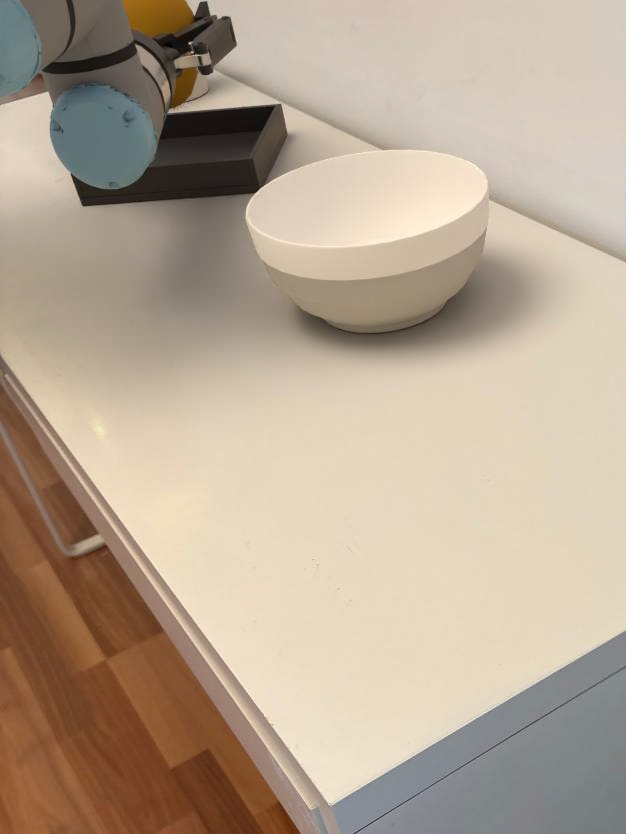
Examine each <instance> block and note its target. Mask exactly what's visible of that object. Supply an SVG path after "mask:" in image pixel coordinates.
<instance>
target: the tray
mask: <svg viewBox="0 0 626 834" xmlns="http://www.w3.org/2000/svg"><path fill="white" fill-rule="evenodd" d="M287 129H288V128H287V123H286V119H285V114H284V109H283V105H282V103H272V104H261V105H248V106H236V107H235V106H234V107H226V108H225V107H223V108H213V109H212V108H211V109H201V110H190V111H188V110H187V111H178V112H177V111H176V112H168V113H167V116H166V119H165V122H164V125H163V128H162V131H161V135H160V138H159V141H158V145H157V146H158V147H157V150H156V154H155V155H154V156H155V158H154V159H153V161H152V163H151V164H150V165H149V166H148V167H147V168H146V170H145V171H144V173H143V174H142V176H141V177H140V178H139V179H138V180H136V181H135V182H134V183H132V184H130V185H128V186H126V187H122V188H119V189H102V188H98V187H94V186H91V185H89V184H87V183H84V182H83V181H81V180H79V179H78V178H77V177H75V176H74V175H73V174H72V173H70V172H69V173H70V174H69V175H70V177H71V179H72V182H73V185H74V188H75V192H76V193H77V196H78V199H79V202H80V204H81V206H82V207H85V206H97V205H98V206H99V205H111V204H123V203H136V202H137V203H138V202H148V201H149V202H151V201H163V200H175V199H177V200H178V199H189V198H197V197H198V198H201V197H214V196H228V195H240V194H252V193H253V194H255V193H257V192H258V191H259V190H260V189H261V188H262V187H264V186H265V185H266V181H267V179H268V178H269V175H270V173H271V171H272V168H273V167H274V164H275V162H276V160H277V158H278V156H279V154H280V151H281V149H282V147H283V145H284V143H285V141H286V138H287V137H288V130H287Z"/></svg>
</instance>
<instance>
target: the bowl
mask: <svg viewBox="0 0 626 834" xmlns="http://www.w3.org/2000/svg"><path fill="white" fill-rule="evenodd" d="M489 217H490V183H489V180H488V178H487V176H486V173H485V172H484V171H483V170H482V169H481V168H480V167H478V166H477V165H476V164H474V163H473V162H470V161H469V160H467V159H465V158H461V157H459V156H455V155H452V154H449V153H445V152H444V153H443V152H438V151H433V150H420V149H384V150H382V149H381V150H371V151H363V152H356V153H349V154H343V155H341V156H340V155H339V156H335V157H330V158H326V159H322V160H319V161H315V162H312V163H309V164H305V165H302V166H301V167H298V168H295V169H293V170H290V171H288V172H286V173H283V174H281V175H279V176H278V177H275V178H274V179H272V180H271V181H269V182H268V183H265V184H264V186H263V187H262V188H261V189H260V190H259V191H258V192H255V193H254V195H252V197H251V198H250V199H249V201H248V203H247V205H246V207H245V222H246V224H247V227H248V231H249V234H250V236H251V239H252V243H253V246H254V249H255V251H256V253H257V255H258V257H259V258H260V260H261V262H262V263H263V266H264V267H265V269H266V271H267V273H268V275H269V277H270V279H271V280H272V283H273V284H274V285H275V286H276V287H277V288H278V289H279V290H281V291H282V292H283V294H285V295H286V296H287V297H288V298H289V299H290V300H291V301H292V302H293V303H294V304H296V305H297V306H298V307H299V308H300V309H301V310H302V311H305V312H307V313H308V314H310V315H313V316H315V317H317V318H321V319H322V320H324V322H325V323H327V324H328V325H330V326H332V327H334V328H336V329H339V330H342V331H344V332H345V331H346V332H352V333H360V334H361V333H362V334H378V333H379V334H380V333H388V332H393V331H399V330H403V329H408V328H410V327H413V326H416V325H419V324H421V323H423V322H425V321H427V320H429V319H431V318H433V317H434V316H435V315H437V314H438V313H439V312H440V311H441V310H442V309H443V308H444V307H445V306H446V303H447V302H448V300H449V299H451V298H452V297H453V296H455V295H456V294H458V293H459V292H460V291H461V289H462V288H463V287H464V286H465V285H466V284H467V282H468V280H469V278H470V276H471V274H472V273H473V271H474V269H475V268H476V266H477V264H478V262H479V260H480V259H481V257H482V255H483V254H484V253H483V252H484V248H485V242H486V235H487V230H488V225H489Z"/></svg>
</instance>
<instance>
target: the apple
mask: <svg viewBox="0 0 626 834" xmlns="http://www.w3.org/2000/svg"><path fill="white" fill-rule="evenodd" d="M122 1H123V4H124V8H125V11H126V15H127V18H128V22H129V25H130V29H134V30H137V31H140V32H142V33H144V34H146V35H147V36H149V37H150V38H151V37H153V36H155V35H157V34H159V33H172V34H173V33H175V32H177V31H179V30H181V29H183V28H185V27H187V26H189V25H191V24H193V23H195V20H194V16H195V14H194V12H193V10H192V9H191V6H189V4H187V3H188V2H187V3H186V1H187V0H186V1H185V0H122ZM197 75H198V72H195V68H194V67H190V68H184V71H183V74H182V75H181V76H180V77H178V78H176V87H175V94H174V97H173V100H172V103H171V106H170V109H169V110H171V109H175V108H178V107H179V106H181V105H183V103H185V102H184V101H186V100H187V99H188V98H189V96H190V95H191V94H192V91H193V88H194V85H195V81H196V78H197ZM186 102H187V101H186Z"/></svg>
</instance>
